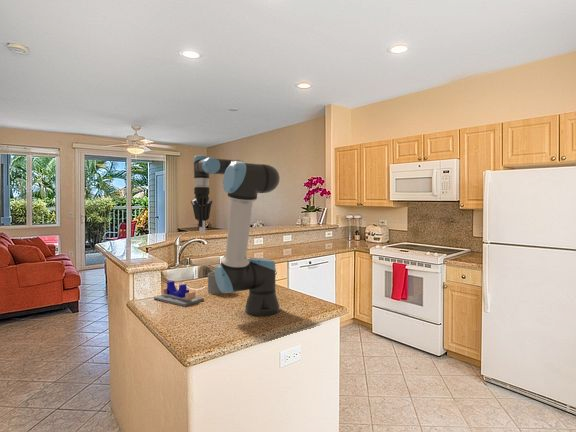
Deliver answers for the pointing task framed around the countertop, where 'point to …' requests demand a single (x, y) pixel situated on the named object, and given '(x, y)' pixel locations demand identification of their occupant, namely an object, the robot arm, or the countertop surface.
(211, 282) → the coffee mug
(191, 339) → the countertop surface
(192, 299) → the rail mount
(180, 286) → the cable clip
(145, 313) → the countertop surface
